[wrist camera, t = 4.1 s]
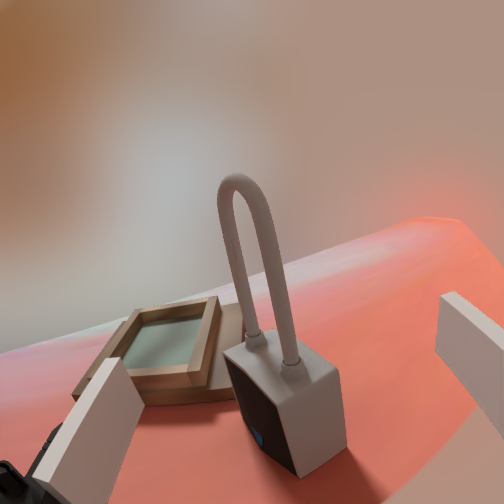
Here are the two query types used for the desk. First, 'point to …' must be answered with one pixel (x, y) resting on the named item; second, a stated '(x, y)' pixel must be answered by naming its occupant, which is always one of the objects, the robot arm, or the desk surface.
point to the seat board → (176, 351)
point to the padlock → (278, 355)
